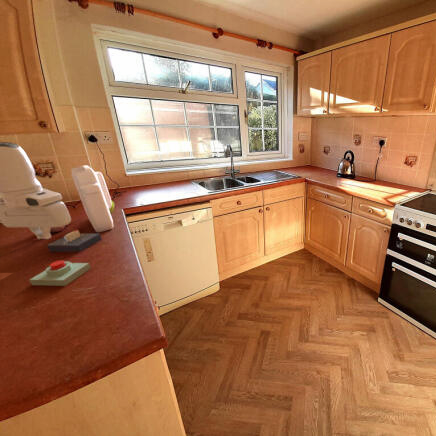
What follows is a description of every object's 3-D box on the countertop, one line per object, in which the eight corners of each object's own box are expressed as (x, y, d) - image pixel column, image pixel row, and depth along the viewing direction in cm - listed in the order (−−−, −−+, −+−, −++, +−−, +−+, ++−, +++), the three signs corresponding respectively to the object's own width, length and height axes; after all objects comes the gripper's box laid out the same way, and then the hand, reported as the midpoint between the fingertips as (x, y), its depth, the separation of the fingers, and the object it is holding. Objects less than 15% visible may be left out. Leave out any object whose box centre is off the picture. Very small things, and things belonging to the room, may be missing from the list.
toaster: (124, 228, 121) (104, 168, 109) (96, 236, 114) (72, 172, 102) (113, 215, 139) (94, 162, 128) (88, 221, 132) (67, 165, 120)
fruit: (94, 218, 135) (88, 201, 131) (101, 213, 143) (95, 196, 140) (113, 216, 138) (107, 199, 134) (118, 210, 146) (113, 194, 142)
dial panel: (49, 251, 101) (46, 244, 100) (73, 239, 111) (70, 233, 110) (80, 251, 100) (77, 245, 99) (101, 239, 110) (99, 233, 109)
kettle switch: (48, 270, 81) (46, 266, 81) (59, 264, 85) (56, 260, 84) (58, 270, 81) (56, 266, 80) (68, 264, 84) (66, 260, 84)
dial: (70, 241, 102) (67, 234, 101) (67, 241, 102) (64, 234, 101) (80, 236, 107) (78, 229, 106) (78, 236, 107) (75, 229, 106)
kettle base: (32, 285, 80) (26, 275, 78) (60, 267, 89) (56, 258, 88) (65, 285, 79) (60, 275, 77) (91, 268, 88) (87, 258, 87)
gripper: (-19, 201, 71) (5, 243, 76) (45, 200, 69) (64, 243, 75) (6, 195, 77) (26, 234, 82) (65, 193, 75) (82, 234, 81)
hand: (45, 238), depth 78 cm, fingers closed
